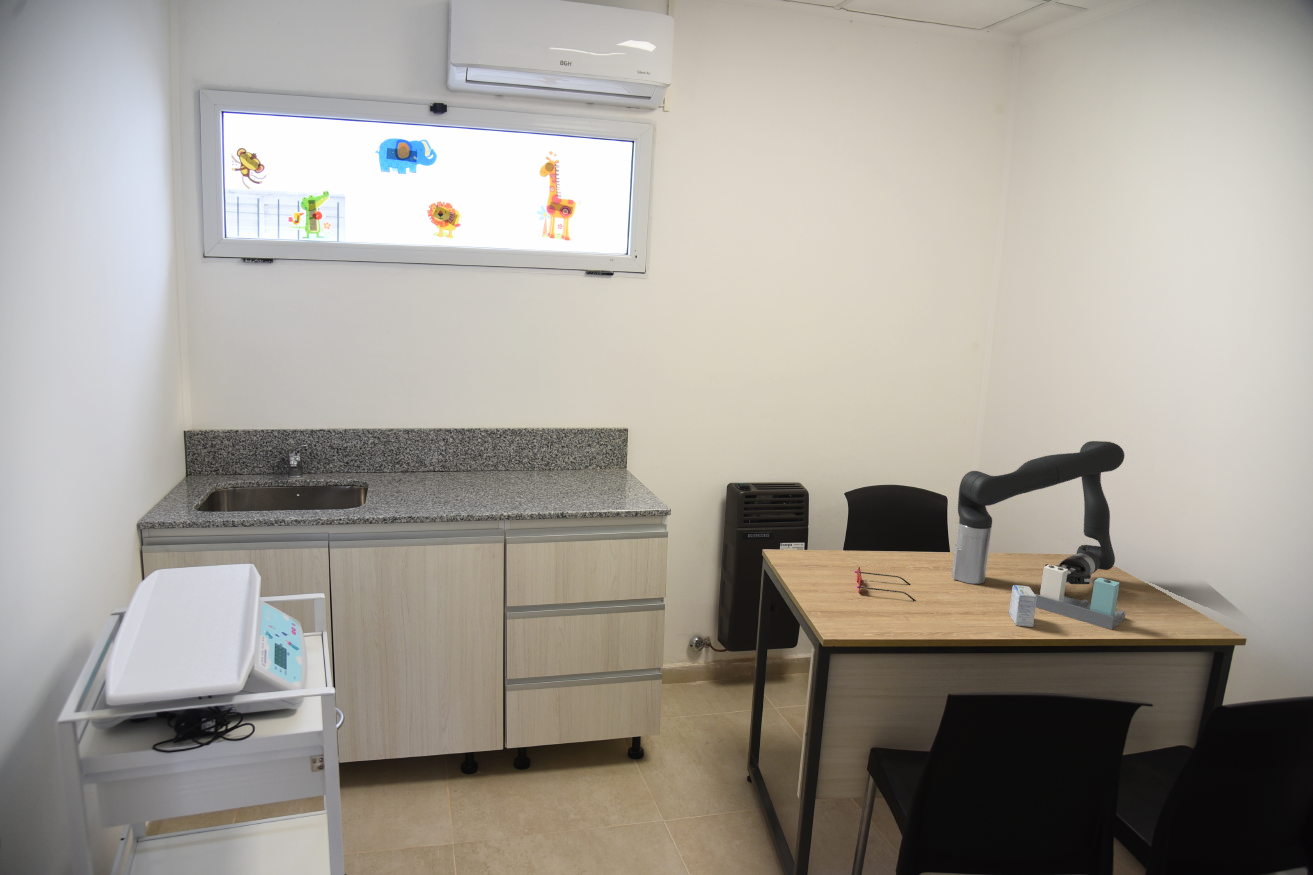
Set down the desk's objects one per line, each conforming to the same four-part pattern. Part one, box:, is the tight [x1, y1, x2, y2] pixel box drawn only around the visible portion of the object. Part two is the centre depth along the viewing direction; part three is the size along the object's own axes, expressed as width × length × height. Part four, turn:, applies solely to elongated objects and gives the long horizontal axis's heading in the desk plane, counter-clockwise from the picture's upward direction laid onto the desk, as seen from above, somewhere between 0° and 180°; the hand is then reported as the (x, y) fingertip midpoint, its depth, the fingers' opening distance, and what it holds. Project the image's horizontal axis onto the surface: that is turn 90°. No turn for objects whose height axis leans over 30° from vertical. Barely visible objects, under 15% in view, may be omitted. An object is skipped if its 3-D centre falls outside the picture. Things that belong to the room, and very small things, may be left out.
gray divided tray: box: [1034, 593, 1127, 631], centre depth 220 cm, size 12×20×4 cm, turn 45°
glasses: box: [854, 566, 917, 602], centre depth 231 cm, size 14×16×5 cm
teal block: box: [1090, 577, 1120, 617], centre depth 213 cm, size 4×5×10 cm
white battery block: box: [1039, 564, 1068, 602], centre depth 222 cm, size 4×5×10 cm
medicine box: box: [1008, 584, 1037, 628], centre depth 212 cm, size 8×4×9 cm, turn 168°
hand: (1056, 580), depth 223 cm, fingers closed
